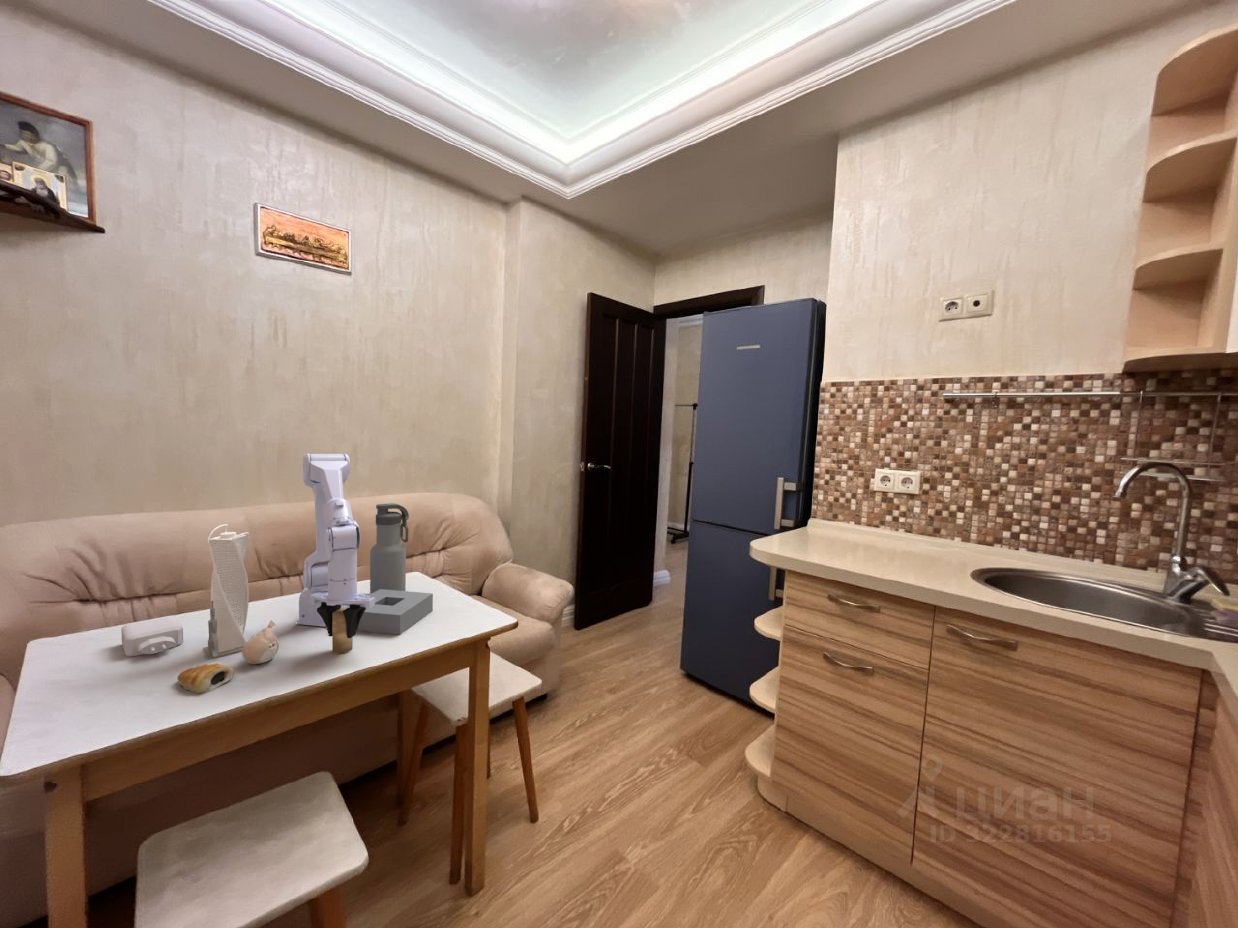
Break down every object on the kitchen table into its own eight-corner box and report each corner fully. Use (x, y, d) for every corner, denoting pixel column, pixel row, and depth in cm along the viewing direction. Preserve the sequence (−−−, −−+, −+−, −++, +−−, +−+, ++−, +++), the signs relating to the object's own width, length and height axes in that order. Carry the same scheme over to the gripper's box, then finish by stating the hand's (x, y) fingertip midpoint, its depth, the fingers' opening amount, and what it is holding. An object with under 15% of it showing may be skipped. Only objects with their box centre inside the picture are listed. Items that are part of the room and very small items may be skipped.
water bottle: (401, 587, 151) (402, 501, 149) (411, 596, 144) (412, 505, 142) (366, 593, 145) (367, 503, 143) (374, 602, 137) (375, 508, 135)
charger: (128, 668, 97) (121, 645, 107) (188, 653, 104) (177, 633, 114) (127, 646, 97) (121, 625, 106) (188, 633, 104) (176, 614, 114)
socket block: (340, 628, 119) (340, 609, 119) (379, 606, 135) (379, 589, 135) (400, 634, 117) (400, 615, 117) (432, 610, 133) (432, 593, 133)
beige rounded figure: (284, 660, 103) (284, 624, 102) (249, 671, 97) (248, 634, 97) (272, 651, 106) (271, 616, 106) (237, 662, 101) (236, 626, 101)
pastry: (165, 688, 91) (165, 669, 91) (204, 671, 97) (203, 653, 97) (202, 696, 89) (202, 676, 88) (239, 678, 95) (239, 660, 95)
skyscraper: (201, 647, 107) (199, 525, 105) (246, 636, 113) (245, 521, 111) (208, 660, 101) (206, 532, 100) (255, 648, 108) (253, 527, 106)
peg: (328, 653, 107) (328, 614, 106) (340, 645, 111) (340, 607, 110) (344, 654, 106) (344, 615, 106) (356, 646, 110) (356, 609, 110)
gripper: (299, 580, 104) (299, 640, 105) (360, 585, 102) (360, 646, 103) (323, 571, 111) (323, 627, 112) (380, 575, 109) (380, 632, 110)
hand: (342, 635), depth 108 cm, fingers closed on peg, 4 cm apart
